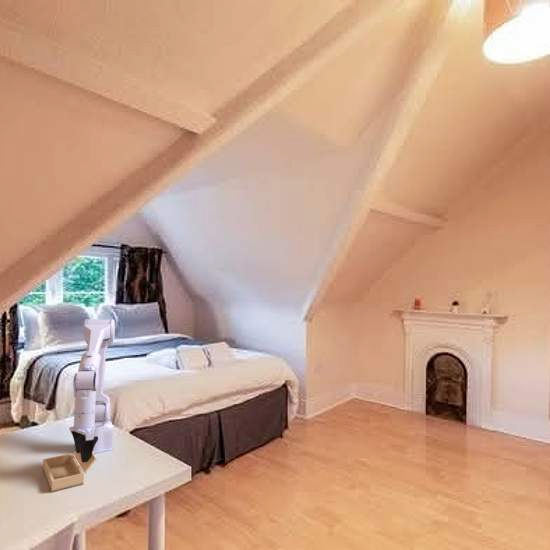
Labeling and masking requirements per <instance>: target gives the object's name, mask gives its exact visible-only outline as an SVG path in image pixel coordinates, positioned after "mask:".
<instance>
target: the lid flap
mask: <svg viewBox="0 0 550 550" xmlns="http://www.w3.org/2000/svg"><path fill="white" fill-rule="evenodd" d="M72 454H73V456H74V458H75V459H76V461H77V463H78V465H79V466H80V468H81V470H82V472H83V473H84V474H87V472H88V471H89V470H90V468H92V466H93V464H94V463H95V462H96V461H97V457H96V456H95V454H93V453H92V456H91V458H90V459H89V460H88V461H87V462H83V463H82V460H81V453H76V449H75V450H74V451H73V453H72Z"/></svg>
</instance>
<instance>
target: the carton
mask: <svg viewBox="0 0 550 550" xmlns="http://www.w3.org/2000/svg"><path fill="white" fill-rule="evenodd" d="M42 470H43V473H44V476H45V478H46V481H47V484H48V486H49V489H50V491H51V493H56V492H58V491H59V492H60V491H63V490H66V489H70V488H74V487H80V486H83V485H84V484H85V483H84V482H85V481H84V480H85V479H84V478H85V473H84V471H83V470H82V468H81V466H80V464H79V463H78V461H77V459H76V458H75V456H74V454H73V453H66V454H63V455H57V456H53V457H48V458H43V460H42Z"/></svg>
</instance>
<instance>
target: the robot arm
mask: <svg viewBox="0 0 550 550" xmlns="http://www.w3.org/2000/svg"><path fill="white" fill-rule="evenodd" d="M115 330H116V322H115V319H113V318H111V319H89V318H86V319H85V320H84V321H83V325H82V334H83V337H84V341H85V344H86V345H87V347H86V351H85V352H84V353H82V355H81V358H80V362H79V366H78V370H77V372H75V373H74V375H73V381H72V386H73V397H74V412H73V413H74V415H73V426H70V427H68V429H69V431H70V433H71V435H72V439H73V443H74V448H75V450H76V453H81V460H82V463H83V462H87V461H88V460H89V459H90V458H91V456H92V453H93V454H94V455H96V454H99V453H103V452H109V451H112V450H114V447H113V446H114V445H113V444H114V443H113V441H114V440H113V439H114V426H113V423H112V421H111V420H110V418H111V412H112V411H111V409H112V408H111V407H112V405H111V403H112V402H111V398H110V397H109V396H108V395H106V394H105V393H104V383H105V370H106V360H107V359H106V357H107V350H108V348H109V346H110V345H112V344H114V341H115V332H116V331H115Z"/></svg>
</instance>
